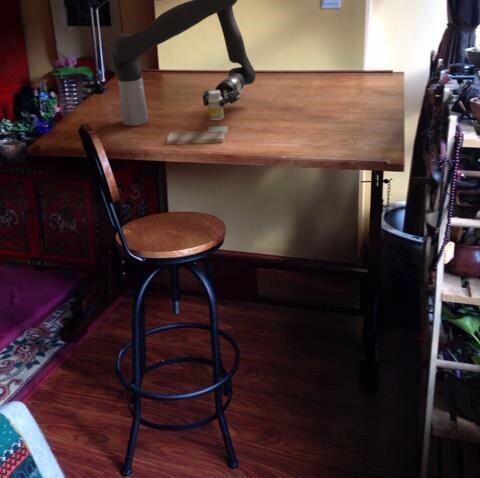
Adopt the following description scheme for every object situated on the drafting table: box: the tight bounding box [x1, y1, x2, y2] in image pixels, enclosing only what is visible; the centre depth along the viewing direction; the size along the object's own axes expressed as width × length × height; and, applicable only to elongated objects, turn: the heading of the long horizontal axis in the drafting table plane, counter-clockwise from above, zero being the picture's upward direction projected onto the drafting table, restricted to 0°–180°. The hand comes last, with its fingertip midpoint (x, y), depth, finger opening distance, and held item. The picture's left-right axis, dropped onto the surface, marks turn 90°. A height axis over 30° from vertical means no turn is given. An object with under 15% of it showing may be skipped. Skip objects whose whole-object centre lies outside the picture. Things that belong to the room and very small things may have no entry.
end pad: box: [207, 125, 229, 135], centre depth 230 cm, size 7×7×1 cm
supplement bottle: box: [208, 90, 225, 121], centre depth 225 cm, size 5×5×10 cm
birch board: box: [166, 131, 226, 145], centre depth 223 cm, size 20×7×2 cm, turn 86°
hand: (213, 103), depth 222 cm, fingers closed on supplement bottle, 5 cm apart
